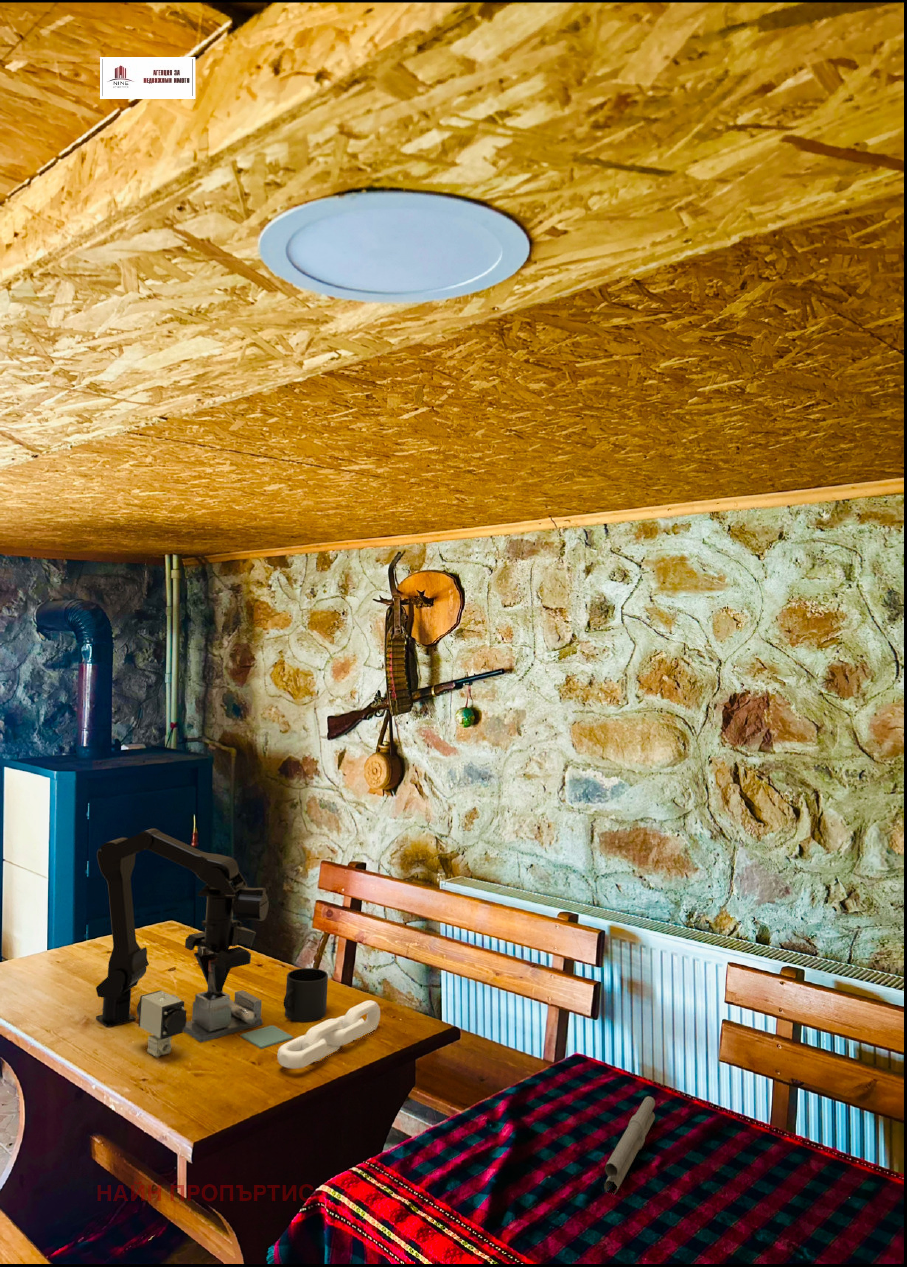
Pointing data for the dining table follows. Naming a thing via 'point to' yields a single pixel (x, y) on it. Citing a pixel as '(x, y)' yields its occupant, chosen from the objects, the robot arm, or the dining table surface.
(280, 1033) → the mat
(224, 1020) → the bracket
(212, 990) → the round metal peg
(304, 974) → the mug
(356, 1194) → the dining table surface
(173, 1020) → the pneumatic valve
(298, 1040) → the chain
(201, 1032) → the clamp base
